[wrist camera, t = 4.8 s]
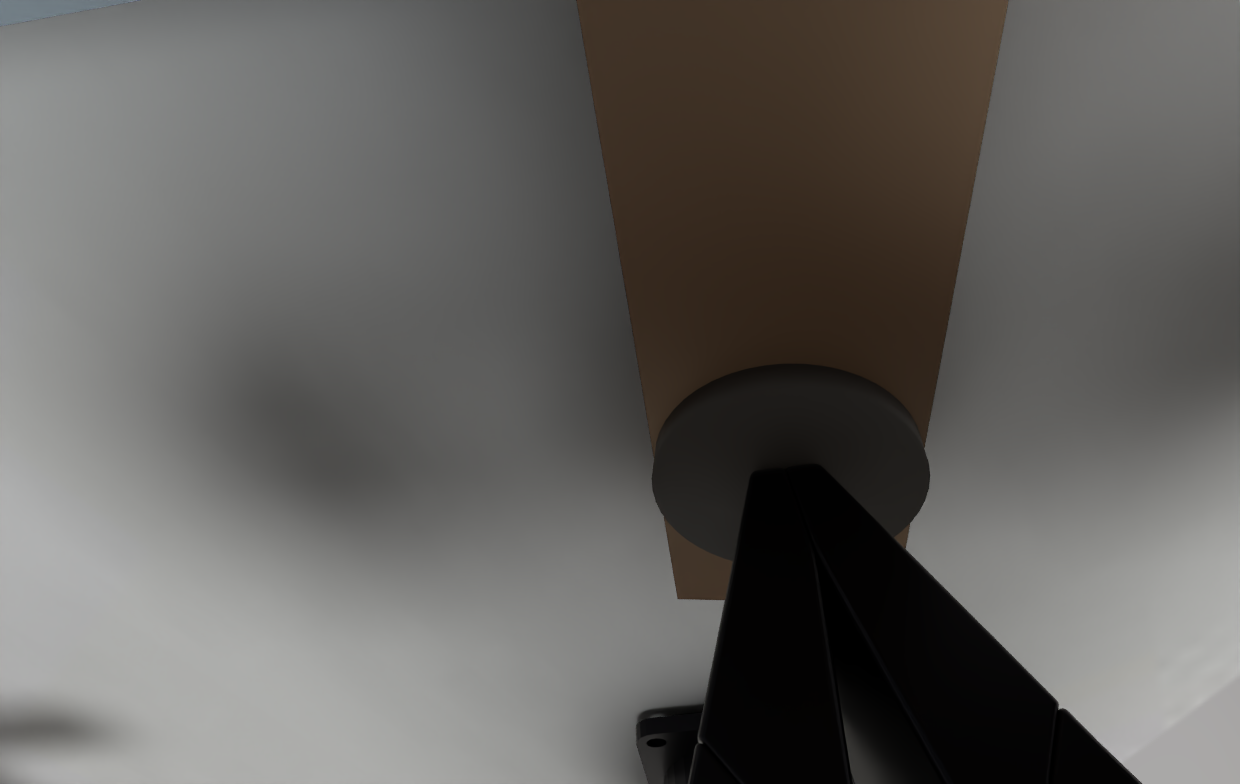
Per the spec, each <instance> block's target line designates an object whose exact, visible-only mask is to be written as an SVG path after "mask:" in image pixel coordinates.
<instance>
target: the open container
mask: <svg viewBox="0 0 1240 784" xmlns="http://www.w3.org/2000/svg"><path fill="white" fill-rule="evenodd" d="M134 1H140V0H0V26H5V25H10V24H16V23H21V22H26V21H32V20H37V19H43V18H48V17H53V16H59V15H64V14H70V13H75V12H80V11H86V10H91V9H96V8H102V7H107V6H113V5H118V4H123V3H129V2H134Z"/></svg>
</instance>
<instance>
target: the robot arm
mask: <svg viewBox="0 0 1240 784" xmlns="http://www.w3.org/2000/svg"><path fill="white" fill-rule="evenodd" d="M1058 707H1059V704H1058V701H1057V700H1056V699H1055V698H1054V697H1053V696H1052V695H1051V694H1050V693H1049V692H1048V691H1047V690H1046V689H1045V688H1044V687H1043V686H1042V685H1041V684H1040V683H1039V682H1038V681H1037V680H1036V679H1035V678H1034V677H1033V676H1032V675H1031V674H1030V673H1029V672H1028V671H1027V670H1026V669H1025V668H1024V667H1023V666H1022V665H1021V664H1020V663H1019V662H1018V661H1017V660H1016V659H1015V658H1014V657H1013V656H1012V655H1011V654H1010V653H1009V652H1008V651H1007V650H1006V649H1005V648H1004V647H1003V646H1002V645H1001V644H1000V643H999V642H998V641H997V640H996V639H995V638H994V637H993V636H992V635H991V634H990V633H989V632H988V631H987V630H986V629H985V628H984V627H983V626H982V625H981V624H980V623H979V622H978V621H977V620H976V619H975V618H974V617H973V616H972V615H971V614H970V613H969V612H968V611H967V610H966V609H965V608H964V607H963V606H962V605H961V604H960V603H959V602H958V601H957V600H956V599H955V598H954V597H953V596H952V595H951V594H950V593H949V592H948V591H947V590H946V589H945V588H944V587H943V586H942V585H941V584H940V583H939V582H938V581H937V580H936V579H935V578H934V577H933V576H932V575H931V574H930V573H929V572H928V571H927V570H926V569H925V568H924V567H923V566H922V565H921V564H920V563H919V562H918V561H917V560H916V559H915V558H914V557H913V556H912V555H911V554H910V553H909V552H908V551H907V550H906V549H905V548H904V547H903V546H902V545H901V544H900V543H899V542H898V541H897V540H896V539H895V538H894V537H893V536H892V535H891V534H890V533H889V532H888V531H887V530H886V529H885V528H884V527H883V526H882V525H881V524H880V523H879V522H878V521H877V520H876V519H875V518H874V517H873V516H872V515H871V514H870V513H869V512H868V511H867V510H866V509H865V508H864V507H863V506H862V505H861V504H860V503H859V502H858V501H857V500H856V499H855V498H854V497H853V496H852V495H851V494H850V493H849V492H848V491H847V490H846V489H845V488H844V487H843V486H842V485H841V484H840V483H839V482H838V481H837V480H836V479H835V478H834V477H833V476H832V475H831V474H830V473H829V472H828V471H827V470H826V469H825V468H824V467H822V466H821V465H819V464H807V465H798V466H790V467H788V468H786V469H785V470H784V469H782V468H774V469H766V470H758V471H754V472H752V473H751V475H750V478H749V483H748V488H747V493H746V498H745V503H744V508H743V513H742V518H741V523H740V528H739V533H738V538H737V543H736V548H735V552H734V557H733V562H732V567H731V572H730V577H729V582H728V587H727V592H726V597H725V602H724V607H723V612H722V617H721V622H720V627H719V632H718V637H717V642H716V647H715V652H714V657H713V662H712V667H711V672H710V677H709V682H708V687H707V692H706V697H705V702H704V707H703V712H702V713H696V714H686V715H676V716H665V717H655V718H649V719H645V720H642V721H640V722H639V723H638V724H637V725H636V743H637V748H638V751H639V754H640V757H641V761H642V764H643V767H644V770H645V774H646V777H647V780H648V783H649V784H1142V783H1141V782H1140V781H1139V780H1138V779H1137V778H1136V777H1135V776H1134V775H1132V773H1130V772H1129V771H1128V770H1127V769H1126V768H1125V767H1124V766H1123V765H1122V764H1121V763H1120V762H1119V761H1118V760H1117V759H1116V758H1115V757H1114V756H1113V755H1112V754H1111V753H1110V752H1109V751H1108V750H1106V749H1105V748H1104V747H1103V746H1102V745H1101V744H1100V743H1099V742H1098V741H1097V740H1096V739H1095V738H1094V737H1093V736H1092V735H1091V734H1090V733H1089V732H1088V731H1087V730H1086V729H1085V728H1084V727H1083V726H1082V725H1081V724H1080V723H1079V722H1078V721H1077V720H1076V719H1075V718H1074V717H1073V716H1072V715H1071V714H1070V713H1069V712H1068V711H1067V710H1066V709H1063V708H1061V709H1059V710H1058Z"/></svg>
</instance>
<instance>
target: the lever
mask: <svg viewBox="0 0 1240 784" xmlns="http://www.w3.org/2000/svg"><path fill="white" fill-rule="evenodd" d="M576 1H577V6H578V12H579V18H580V24H581V30H582V36H583V42H584V48H585V54H586V60H587V66H588V71H589V77H590V83H591V89H592V95H593V101H594V107H595V113H596V119H597V125H598V131H599V136H600V142H601V148H602V154H603V160H604V166H605V172H606V178H607V184H608V190H609V196H610V201H611V207H612V213H613V219H614V225H615V231H616V237H617V243H618V249H619V255H620V261H621V266H622V272H623V278H624V284H625V290H626V296H627V302H628V308H629V314H630V320H631V326H632V331H633V337H634V343H635V349H636V355H637V361H638V367H639V373H640V379H641V385H642V391H643V396H644V402H645V408H646V414H647V420H648V426H649V432H650V438H651V444H652V450H653V456H654V464H653V473H652V487H653V493H654V497H655V500H656V503H657V505H658V507H659V509H660V511H661V513H662V514H663V516H664V521H665V526H666V532H667V538H668V544H669V550H670V556H671V562H672V568H673V574H674V580H675V586H676V591H677V597H678V599H700V600H725V597H726V592H727V587H728V582H729V577H730V572H731V567H732V562H733V557H734V552H735V548H736V543H737V538H738V533H739V528H740V523H741V518H742V513H743V508H744V503H745V498H746V493H747V488H748V483H749V478H750V475H751V473H752V472H754V471H758V470H766V469H774V468H782V469H784V470H785V469H786V468H788V467H790V466H798V465H807V464H819V465H821V466H822V467H824V468H825V469H826V470H827V471H828V472H829V473H830V474H831V475H832V476H833V477H834V478H835V479H836V480H837V481H838V482H839V483H840V484H841V485H842V486H843V487H844V488H845V489H846V490H847V491H848V492H849V493H850V494H851V495H852V496H853V497H854V498H855V499H856V500H857V501H858V502H859V503H860V504H861V505H862V506H863V507H864V508H865V509H866V510H867V511H868V512H869V513H870V514H871V515H872V516H873V517H874V518H875V519H876V520H877V521H878V522H879V523H880V524H881V525H882V526H883V527H884V528H885V529H886V530H887V531H888V532H889V533H890V534H891V535H892V536H893V537H894V538H895V539H896V540H897V541H898V542H899V543H900V544H901V545H902V546H903V547H904V548H906V543H907V538H908V532H909V527H910V523H911V522H912V520H913V519H914V518H915V516H916V515H917V514H918V512H919V511H920V509H921V507H922V505H923V503H924V501H925V499H926V496H927V492H928V489H929V481H930V471H929V463H928V459H927V456H926V453H925V449H924V447H925V442H926V437H927V431H928V426H929V421H930V415H931V410H932V405H933V399H934V394H935V389H936V383H937V378H938V373H939V367H940V362H941V357H942V351H943V346H944V341H945V336H946V330H947V325H948V320H949V314H950V309H951V304H952V298H953V293H954V288H955V282H956V277H957V272H958V266H959V261H960V256H961V250H962V245H963V240H964V234H965V229H966V224H967V218H968V213H969V208H970V202H971V197H972V192H973V186H974V181H975V176H976V171H977V165H978V160H979V155H980V149H981V144H982V139H983V133H984V128H985V123H986V117H987V112H988V107H989V101H990V96H991V91H992V85H993V80H994V75H995V69H996V64H997V59H998V53H999V48H1000V43H1001V37H1002V32H1003V27H1004V21H1005V16H1006V11H1007V6H1008V0H576Z"/></svg>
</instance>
